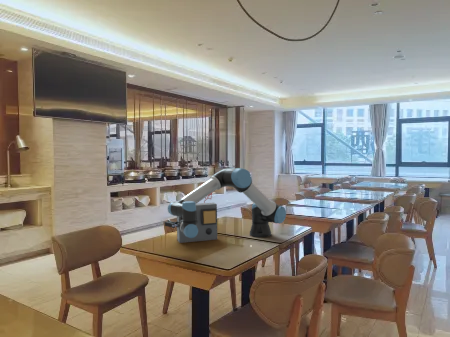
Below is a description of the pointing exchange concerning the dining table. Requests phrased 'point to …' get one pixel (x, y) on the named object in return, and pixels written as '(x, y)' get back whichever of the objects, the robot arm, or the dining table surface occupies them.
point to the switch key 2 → (209, 216)
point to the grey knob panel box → (200, 225)
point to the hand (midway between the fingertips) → (178, 220)
